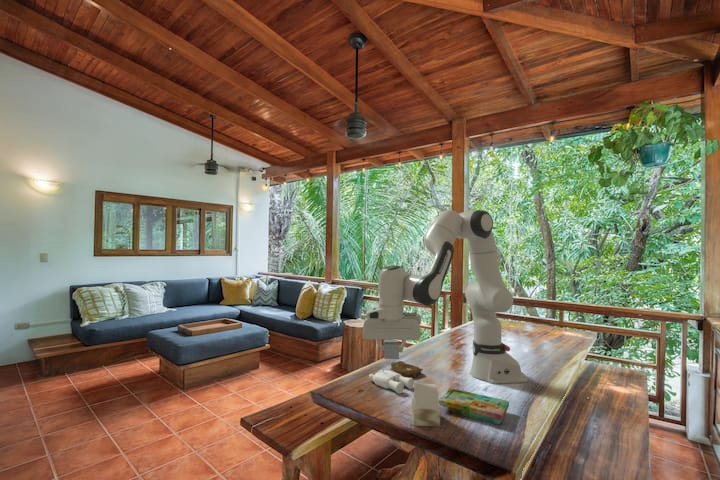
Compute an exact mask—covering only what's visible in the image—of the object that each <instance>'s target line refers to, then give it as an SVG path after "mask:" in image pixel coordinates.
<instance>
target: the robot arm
mask: <svg viewBox="0 0 720 480" xmlns="http://www.w3.org/2000/svg"><path fill="white" fill-rule="evenodd" d="M493 228H494V220H493V218H492V216H491V214H490V213H489V212H488V211H487V210H483V209H482V210H480V209H478V210H470V211H469V210H468V211H463V212H457V211H456V210H453V209H446V210H443V211H441V213H440V214H438V216H436V217H435V219H434V220H433V222H431V225H430V226H429V227H428V228H427V231H426V232H425V234H424V238H423V243H424V246H425V248H426V249H427V250H428V251H429V252H430V253H431V254H432V255H433V256H435V257H434V259H433V262H432V264H431V265H430V266H431V267H430V268H429V271H428V272H427V273H426V274H423V275H419V274H412V273H409V272H408V271H406V270H404V269H403V268H402V267H401V266H400V265H389V266H388V265H386V266H384V267H383V268H381V269H380V271H379V273H378V282H377V283H378V285H377V287H378V289H377V290H378V291H377V292H378V295H379V300H378V305H377V306H376V307H373V308H370V309H367V310H366V313H365V317H366V318H365V319H364V322H363V325H362V333H361V334H362V338H363V339H364V340H376V343H377V345H378V347H379V351H380V353H384V345H382V343H381V342H382V341H384V340H398V341H401V344H400V345H399V353H403V352H404V347H405V345H406V343H407V341H412V340H413V341H418V340H420V338H421V328H420V325H421V324H422V316H421V315H420V314H419V313H417V312H415V311H414V312H413V311H412V312H407V311H405V310H404V307H405V305H404V301H409V302H412V303H417V304H420V305H422V306H423V305H424V306H426V307H427V306H428V307H429V306H432V305H434V304H436V303H437V301H438V300H439V299H440V297H441V294H442V290H443V286H444V282H445V279H446V276H447V274H448V271H449V269H450V266H451V264H452V260H453V258H454V253H455V247H454V243H455V241H456V240H457V239H461V240H462V239H464V240H465V239H467V240H468V251H469V262H470V269H471V273H472V274H473V275H474V277H475V279H476V280H477V282H475V283H470V284H468V285H467V287H466V289H465V291H464V292H465V293H464V297H465V300H466V301H467V302H468V304H469V308H470V311H471V312H470V313H471V316H472V321H473V341H472V354H473V355H472V357H473V358H472V364H471V367H470V371H469V373H470V375H471V376H472V377H474V378H476V379H478V380H482V381H485V382H488V383H490V384H494V385H495V384H498V385H499V384H516V383H527V382H528V377H527V375H526V374H525V373H524V372H523V371H522V369H521V365H520V363H519V362H518V361H517V359H515V358H514V357H513V356H512V355H510V354H509V353H508V352H510V351H511V347H510V346H508V345H506V344H505V343H503V342H502V324H501V321H500V320H499V317H498V316H497V313H506V312H508V311H510V310H511V308H512V307H513V305H514V297H513V294H512V292H511V291H510V290H509V289H508V287H507V286H506V284H505V281H504V279H503V277H502V274H501V272H500V267H499V260H498V251H497V244H496V239H495V237H494V233H493ZM404 311H405V312H404Z"/></svg>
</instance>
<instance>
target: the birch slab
mask: <svg viewBox="0 0 720 480" xmlns="http://www.w3.org/2000/svg"><path fill="white" fill-rule="evenodd" d="M411 415H412V423H413V426H418V427H419V426H421V427H422V426H424V427H441V409H440V406H439V405H438V410H431V409H415V402H414V397H411Z"/></svg>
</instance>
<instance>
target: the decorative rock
mask: <svg viewBox="0 0 720 480" xmlns="http://www.w3.org/2000/svg"><path fill="white" fill-rule="evenodd" d="M390 369H391V370H390V371H393V372H396V373H398V374H401V375H402V376H403V377H407V378H413V380H414V379H417V378H419V375H421V374H422V371H423V368H420V367H419V366H417V365H412V364H409V363H406V362H404V361H402V360H399V361H397V362H395V361H394V362H393V361H392V362H391V363H390Z"/></svg>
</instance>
